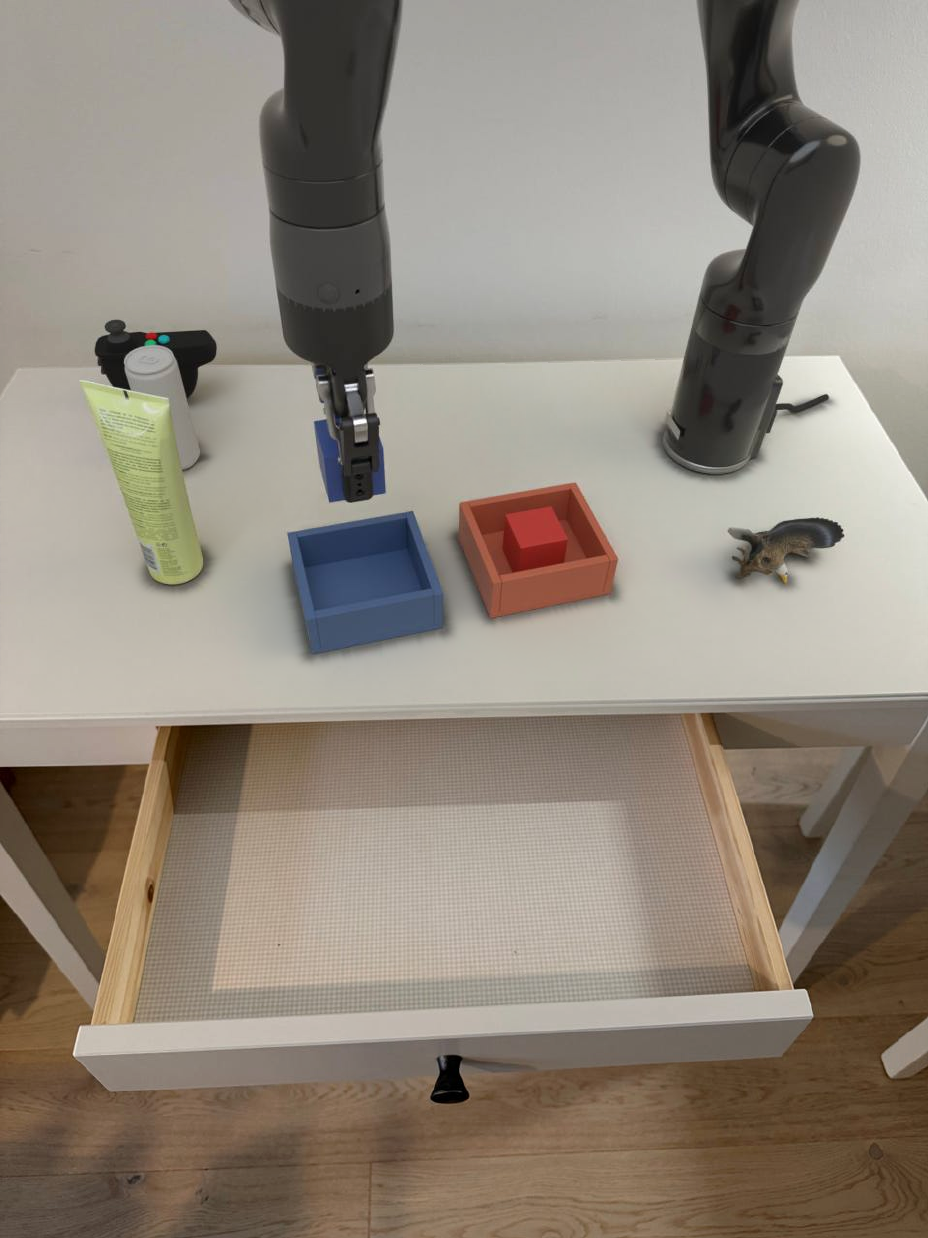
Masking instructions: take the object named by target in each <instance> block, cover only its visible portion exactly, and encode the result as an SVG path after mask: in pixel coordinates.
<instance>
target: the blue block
mask: <svg viewBox="0 0 928 1238" xmlns="http://www.w3.org/2000/svg"><path fill="white" fill-rule="evenodd" d="M335 422H337V423H340V418H335ZM313 427H314V435H315V442H316V450H317V458H318V465H319V469H320V473H321V477H322V481H323V485H324V488H325V492H326V496H327V501H328V503H329V504H330V503H337V502H342V501H346V500H345V497H344V493H343V484H342V474H341V466H340V463H338V460H337V457H339V456H338V449H337V442H336V440H334V439H332V438H331V436H330V434H329V432H328V428H327V422H326V418H325V419H319V420H314V421H313ZM384 452H385V451H384V446H383V443H382V440H381V437H380V436H379V466H378V471H377V472H372V484H373V497H374V496H377V495H378V496H379V495H385V494H386V493H387V489H386V488H387V486H386V469H385V455H384V454H385V453H384Z"/></svg>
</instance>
